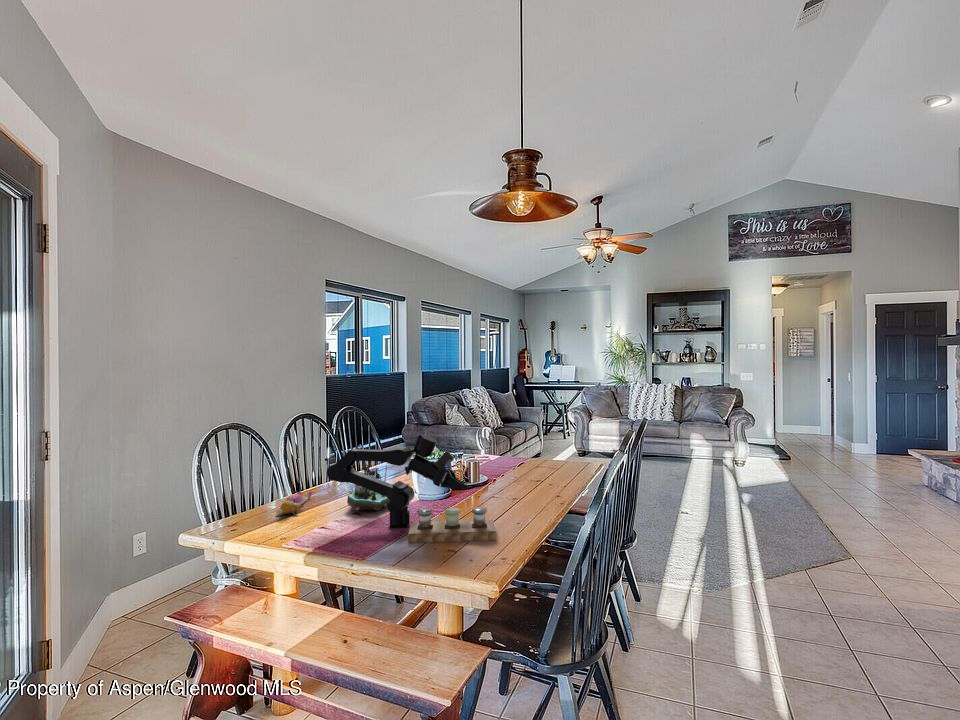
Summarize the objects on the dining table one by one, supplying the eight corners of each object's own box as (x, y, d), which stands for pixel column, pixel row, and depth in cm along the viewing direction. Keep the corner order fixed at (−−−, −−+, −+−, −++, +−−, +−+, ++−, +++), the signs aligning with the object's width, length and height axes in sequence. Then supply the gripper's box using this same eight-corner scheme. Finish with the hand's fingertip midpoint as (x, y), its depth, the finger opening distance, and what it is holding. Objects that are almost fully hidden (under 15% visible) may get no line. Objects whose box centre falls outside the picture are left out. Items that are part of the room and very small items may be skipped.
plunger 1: (417, 527, 173) (416, 513, 173) (418, 522, 178) (417, 508, 178) (432, 527, 173) (432, 512, 173) (433, 522, 178) (432, 508, 178)
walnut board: (408, 543, 169) (408, 533, 169) (411, 530, 181) (411, 522, 181) (495, 540, 170) (495, 531, 170) (493, 528, 182) (493, 519, 182)
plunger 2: (472, 526, 173) (471, 511, 173) (471, 521, 178) (471, 507, 178) (487, 525, 174) (487, 511, 174) (486, 520, 179) (486, 507, 179)
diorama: (343, 514, 200) (347, 464, 200) (355, 498, 225) (359, 453, 225) (393, 518, 201) (397, 467, 201) (399, 501, 226) (403, 456, 226)
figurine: (319, 488, 227) (299, 500, 197) (319, 504, 226) (298, 519, 196) (291, 489, 226) (266, 501, 196) (291, 505, 225) (266, 520, 196)
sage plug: (444, 526, 173) (444, 512, 173) (445, 522, 178) (444, 508, 178) (459, 526, 173) (459, 512, 173) (459, 521, 178) (459, 507, 178)
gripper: (431, 444, 178) (473, 465, 175) (440, 449, 196) (478, 467, 193) (416, 475, 176) (458, 496, 173) (426, 476, 194) (464, 495, 191)
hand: (465, 487), depth 182 cm, fingers open, 9 cm apart
